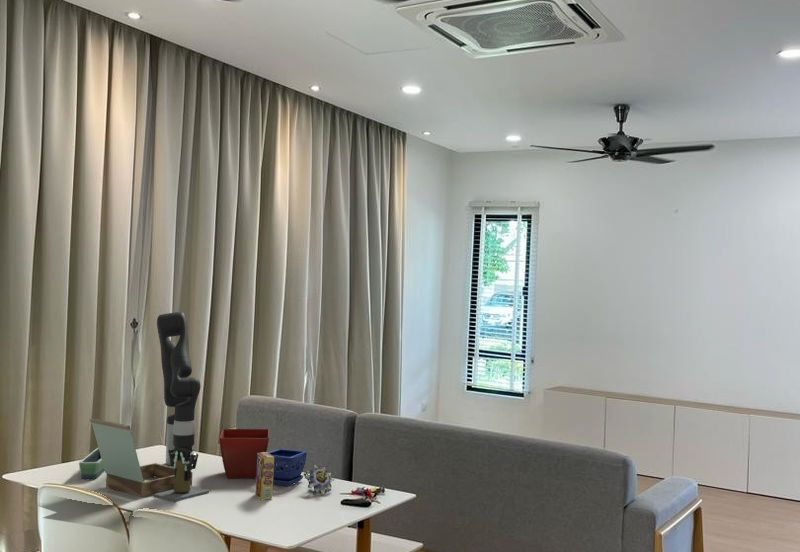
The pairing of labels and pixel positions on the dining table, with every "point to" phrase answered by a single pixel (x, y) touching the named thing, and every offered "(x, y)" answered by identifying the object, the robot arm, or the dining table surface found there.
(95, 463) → the planter
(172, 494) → the mat
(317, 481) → the passion flower
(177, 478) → the cork
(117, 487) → the cold frame
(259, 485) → the candy box
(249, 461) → the plant pot
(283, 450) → the flower pot
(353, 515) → the dining table surface
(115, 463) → the lid
